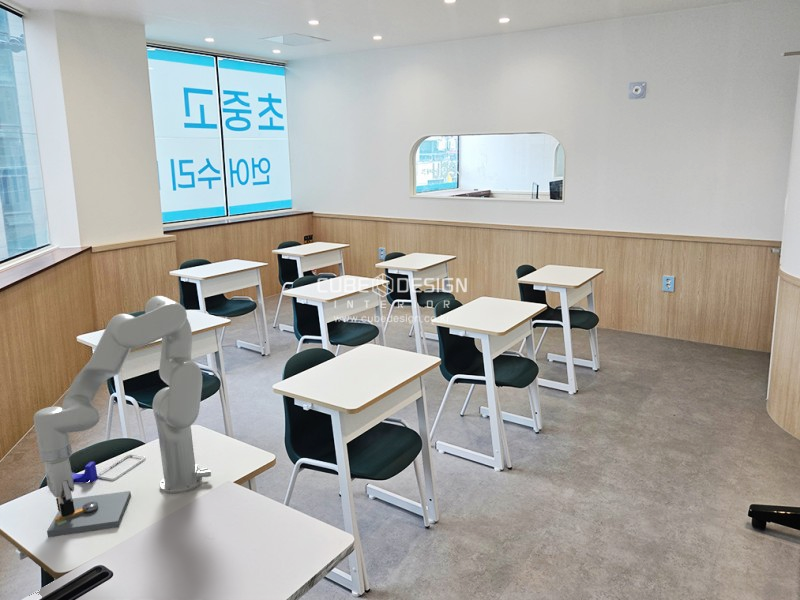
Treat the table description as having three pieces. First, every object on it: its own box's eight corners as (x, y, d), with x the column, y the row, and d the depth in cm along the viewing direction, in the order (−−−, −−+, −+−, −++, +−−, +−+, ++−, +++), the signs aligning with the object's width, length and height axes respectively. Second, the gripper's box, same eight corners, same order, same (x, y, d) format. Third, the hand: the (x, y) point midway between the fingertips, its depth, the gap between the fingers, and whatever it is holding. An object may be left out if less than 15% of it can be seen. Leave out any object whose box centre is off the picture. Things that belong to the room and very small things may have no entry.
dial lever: (96, 503, 174) (92, 482, 173) (100, 509, 171) (96, 487, 170) (54, 518, 167) (49, 496, 166) (57, 525, 164) (53, 502, 163)
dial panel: (131, 496, 182) (130, 490, 181) (118, 527, 166) (117, 520, 166) (66, 505, 178) (65, 498, 177) (48, 537, 163) (46, 530, 162)
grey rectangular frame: (113, 482, 191) (146, 460, 205) (113, 478, 191) (146, 456, 205) (95, 479, 194) (129, 457, 207) (95, 475, 193) (129, 453, 207)
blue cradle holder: (53, 485, 190) (50, 468, 189) (62, 477, 194) (59, 461, 193) (89, 486, 189) (86, 468, 187) (97, 478, 193) (95, 461, 192)
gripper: (33, 446, 167) (44, 505, 171) (47, 467, 155) (59, 530, 159) (63, 437, 172) (73, 495, 176) (79, 457, 160) (89, 518, 164)
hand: (66, 511), depth 167 cm, fingers closed on dial lever, 3 cm apart
